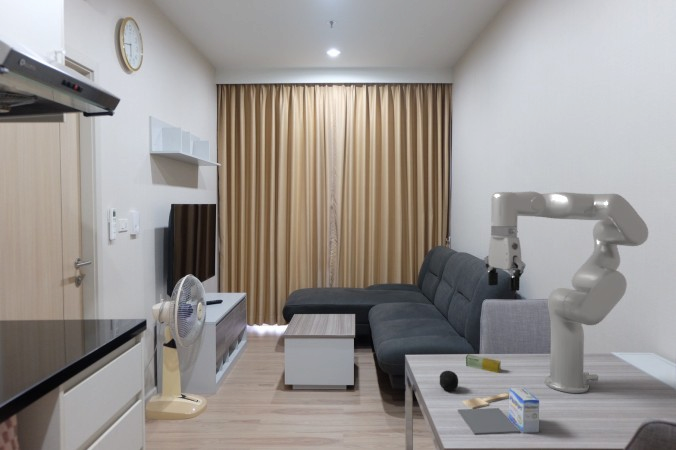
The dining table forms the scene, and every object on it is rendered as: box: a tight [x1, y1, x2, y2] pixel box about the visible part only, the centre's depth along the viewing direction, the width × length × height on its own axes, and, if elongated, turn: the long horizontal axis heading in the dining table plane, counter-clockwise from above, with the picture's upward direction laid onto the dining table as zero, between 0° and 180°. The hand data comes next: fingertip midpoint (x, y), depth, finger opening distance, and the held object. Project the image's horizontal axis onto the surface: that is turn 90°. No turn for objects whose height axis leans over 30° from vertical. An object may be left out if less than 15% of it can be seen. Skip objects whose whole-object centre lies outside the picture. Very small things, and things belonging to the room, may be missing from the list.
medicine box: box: [508, 387, 540, 434], centre depth 116 cm, size 8×4×9 cm, turn 5°
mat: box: [457, 407, 521, 435], centre depth 119 cm, size 12×13×1 cm
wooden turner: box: [462, 392, 509, 409], centre depth 131 cm, size 16×4×1 cm, turn 113°
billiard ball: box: [438, 370, 459, 392], centre depth 139 cm, size 6×6×6 cm
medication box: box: [465, 354, 502, 374], centre depth 157 cm, size 12×3×4 cm, turn 53°
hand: (503, 287), depth 134 cm, fingers open, 9 cm apart
